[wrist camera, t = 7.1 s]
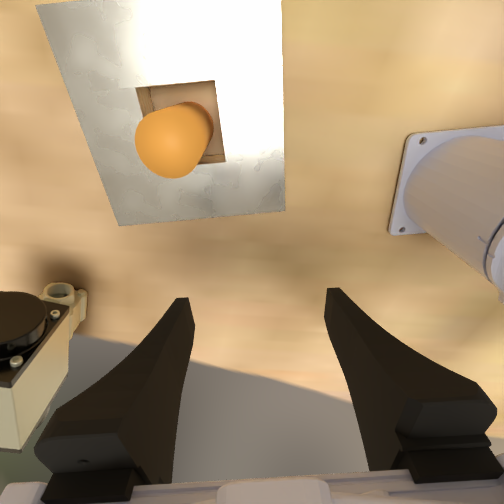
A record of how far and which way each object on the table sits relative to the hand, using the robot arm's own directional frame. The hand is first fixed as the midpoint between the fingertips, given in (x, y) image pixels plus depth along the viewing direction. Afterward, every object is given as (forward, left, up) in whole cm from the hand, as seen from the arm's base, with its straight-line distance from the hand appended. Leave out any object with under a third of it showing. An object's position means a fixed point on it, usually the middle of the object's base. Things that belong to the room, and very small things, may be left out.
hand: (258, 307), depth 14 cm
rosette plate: (+4, -12, -10) cm, 16 cm away
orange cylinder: (+4, -8, -10) cm, 13 cm away
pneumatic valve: (+19, +6, -10) cm, 22 cm away
